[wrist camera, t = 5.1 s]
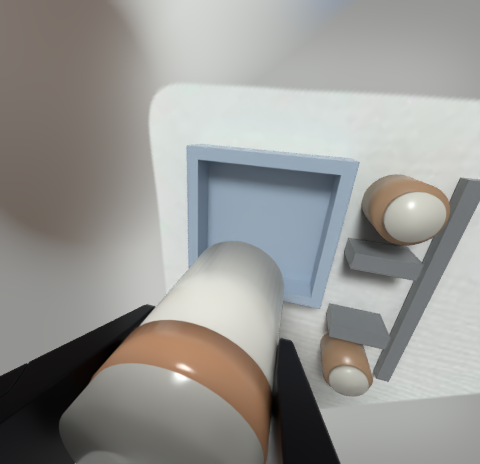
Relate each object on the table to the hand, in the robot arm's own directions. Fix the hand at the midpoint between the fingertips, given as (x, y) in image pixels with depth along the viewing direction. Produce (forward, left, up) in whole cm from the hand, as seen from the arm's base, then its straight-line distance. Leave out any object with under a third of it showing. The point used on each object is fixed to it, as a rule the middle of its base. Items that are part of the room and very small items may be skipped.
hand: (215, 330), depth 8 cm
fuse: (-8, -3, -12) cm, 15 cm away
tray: (0, 0, -12) cm, 12 cm away
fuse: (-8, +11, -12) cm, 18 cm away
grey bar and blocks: (-10, +4, -12) cm, 16 cm away
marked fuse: (0, 0, -3) cm, 3 cm away
